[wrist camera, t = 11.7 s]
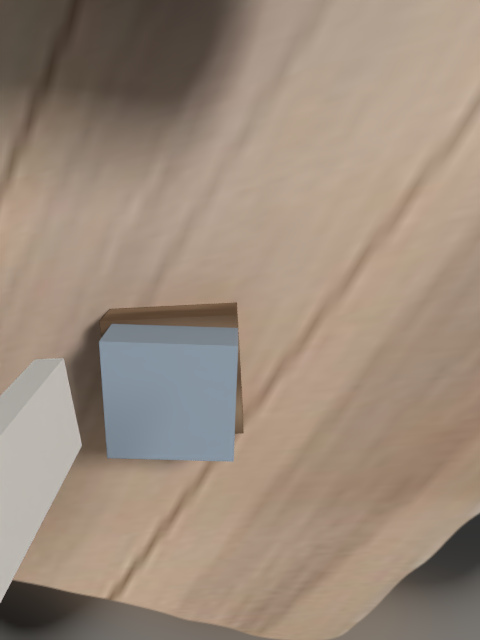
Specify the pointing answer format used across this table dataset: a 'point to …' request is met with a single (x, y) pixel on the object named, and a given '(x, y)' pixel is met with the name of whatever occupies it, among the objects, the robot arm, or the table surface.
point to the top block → (169, 391)
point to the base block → (183, 316)
